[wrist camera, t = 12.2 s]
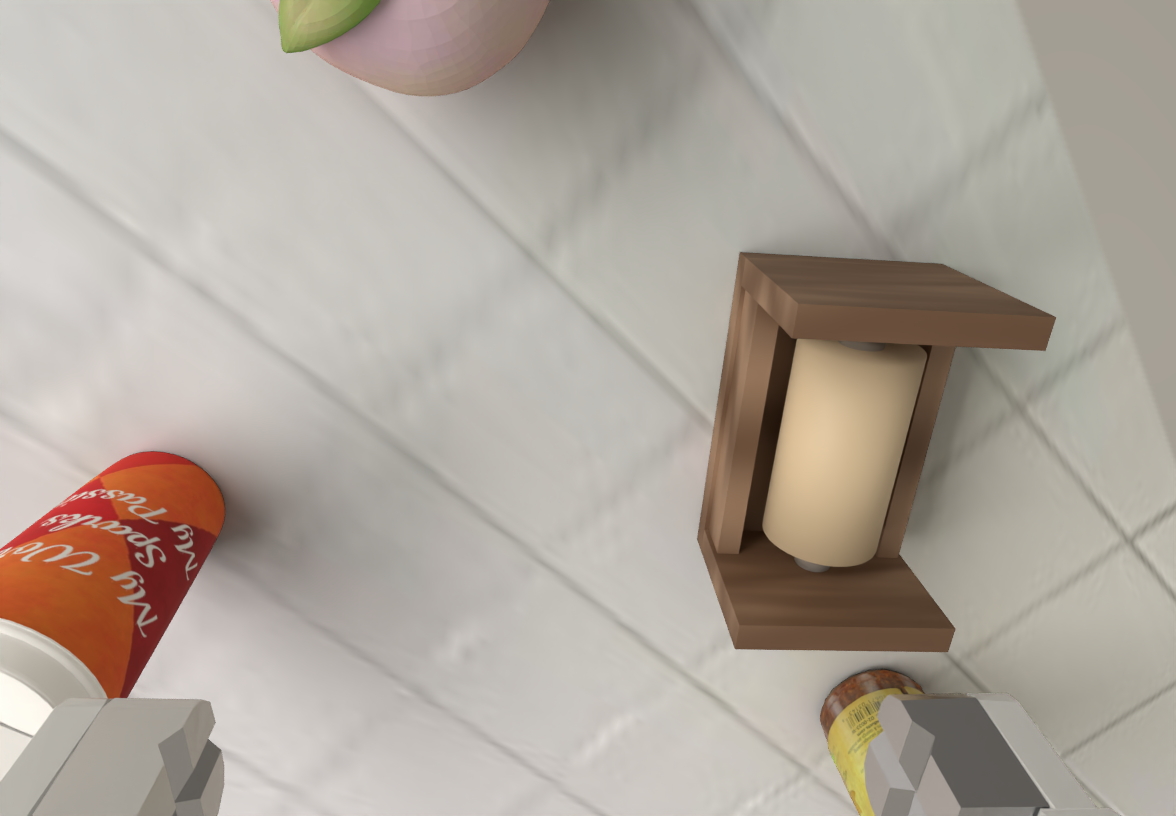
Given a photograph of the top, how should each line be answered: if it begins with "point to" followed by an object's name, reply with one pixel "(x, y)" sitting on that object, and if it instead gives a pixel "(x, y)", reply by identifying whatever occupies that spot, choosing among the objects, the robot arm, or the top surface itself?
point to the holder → (752, 424)
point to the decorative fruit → (411, 39)
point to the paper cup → (98, 587)
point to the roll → (840, 447)
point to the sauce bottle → (859, 724)
